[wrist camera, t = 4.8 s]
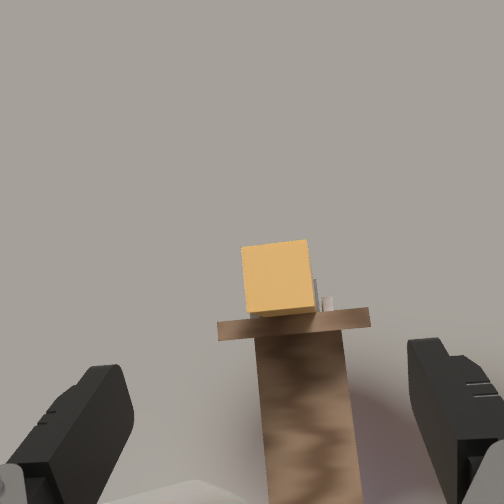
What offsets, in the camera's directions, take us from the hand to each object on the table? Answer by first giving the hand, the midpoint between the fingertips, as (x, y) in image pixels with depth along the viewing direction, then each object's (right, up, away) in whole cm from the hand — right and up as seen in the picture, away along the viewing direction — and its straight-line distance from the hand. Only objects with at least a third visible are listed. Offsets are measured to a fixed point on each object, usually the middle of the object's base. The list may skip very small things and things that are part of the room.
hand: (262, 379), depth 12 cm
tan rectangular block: (+3, -2, +24) cm, 24 cm away
